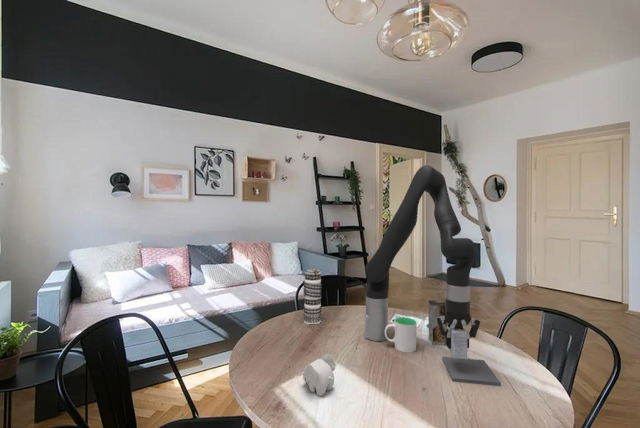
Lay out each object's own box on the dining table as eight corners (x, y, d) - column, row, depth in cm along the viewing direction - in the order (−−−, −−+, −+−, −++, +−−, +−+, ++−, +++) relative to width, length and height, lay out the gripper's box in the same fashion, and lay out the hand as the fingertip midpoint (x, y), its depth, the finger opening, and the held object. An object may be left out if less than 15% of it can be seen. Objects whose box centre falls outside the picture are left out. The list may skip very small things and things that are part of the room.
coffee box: (450, 339, 125) (450, 300, 125) (455, 346, 119) (456, 305, 119) (427, 338, 126) (428, 299, 126) (431, 344, 120) (432, 304, 120)
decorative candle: (299, 319, 146) (300, 268, 146) (317, 316, 150) (317, 266, 150) (307, 326, 138) (307, 271, 138) (325, 323, 142) (325, 270, 141)
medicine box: (467, 359, 97) (467, 333, 97) (452, 358, 98) (453, 332, 98) (460, 348, 105) (461, 323, 104) (447, 347, 105) (447, 322, 105)
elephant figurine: (313, 374, 98) (313, 347, 98) (343, 388, 91) (343, 358, 91) (292, 387, 91) (292, 358, 91) (323, 403, 83) (323, 372, 83)
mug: (386, 351, 114) (386, 324, 114) (383, 342, 122) (383, 316, 122) (418, 352, 113) (418, 325, 113) (413, 343, 121) (413, 317, 121)
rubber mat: (452, 381, 95) (452, 378, 95) (442, 359, 108) (442, 356, 108) (500, 385, 92) (500, 382, 92) (483, 362, 106) (483, 360, 106)
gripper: (437, 299, 98) (437, 351, 99) (484, 302, 96) (484, 355, 96) (432, 293, 106) (432, 341, 106) (476, 295, 103) (475, 344, 104)
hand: (457, 347), depth 101 cm, fingers closed on medicine box, 4 cm apart
